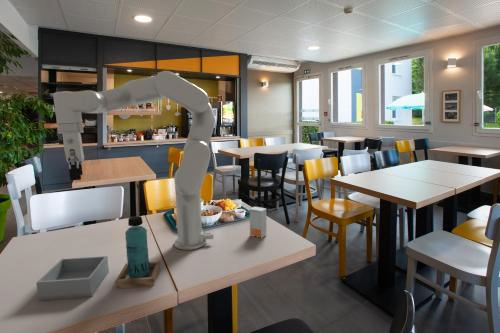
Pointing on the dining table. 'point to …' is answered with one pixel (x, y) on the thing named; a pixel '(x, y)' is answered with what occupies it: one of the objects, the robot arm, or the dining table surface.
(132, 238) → the beverage bottle
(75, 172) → the robot arm
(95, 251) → the dining table surface
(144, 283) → the collar
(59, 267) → the bin
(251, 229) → the skincare box
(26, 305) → the dining table surface
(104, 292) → the dining table surface
